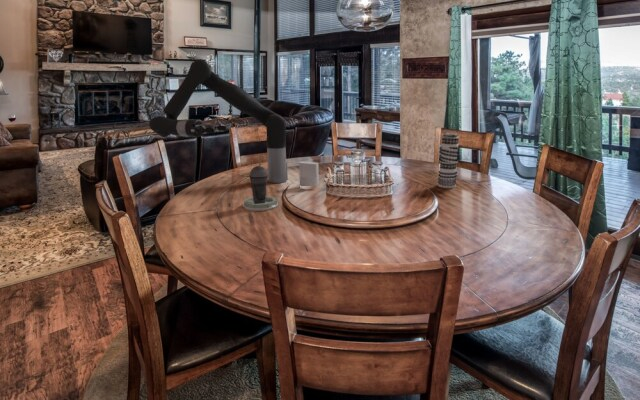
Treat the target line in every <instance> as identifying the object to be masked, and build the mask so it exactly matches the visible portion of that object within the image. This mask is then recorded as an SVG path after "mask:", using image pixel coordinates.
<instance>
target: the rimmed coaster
mask: <svg viewBox="0 0 640 400" xmlns="http://www.w3.org/2000/svg"><path fill="white" fill-rule="evenodd" d="M243 202H244V203H243V204H242V208H243V209H244V210H246V211H251V212H265V211H266V212H267V211H272V210H274V209H277V208H278V206H279V205H278V204H279V202H278V200H277V198H276V197H275V196H269V195H266V201H265V203H262V204H254V199H253V196H251V197H247V198H245V199H243Z"/></svg>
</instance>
